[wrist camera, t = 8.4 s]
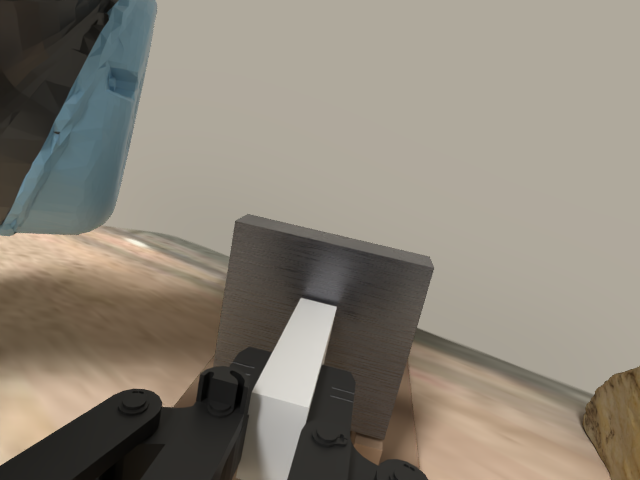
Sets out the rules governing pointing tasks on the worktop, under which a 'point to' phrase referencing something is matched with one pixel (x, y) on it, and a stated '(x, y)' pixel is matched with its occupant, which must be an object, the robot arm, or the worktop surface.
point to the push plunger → (333, 289)
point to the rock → (617, 424)
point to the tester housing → (376, 450)
